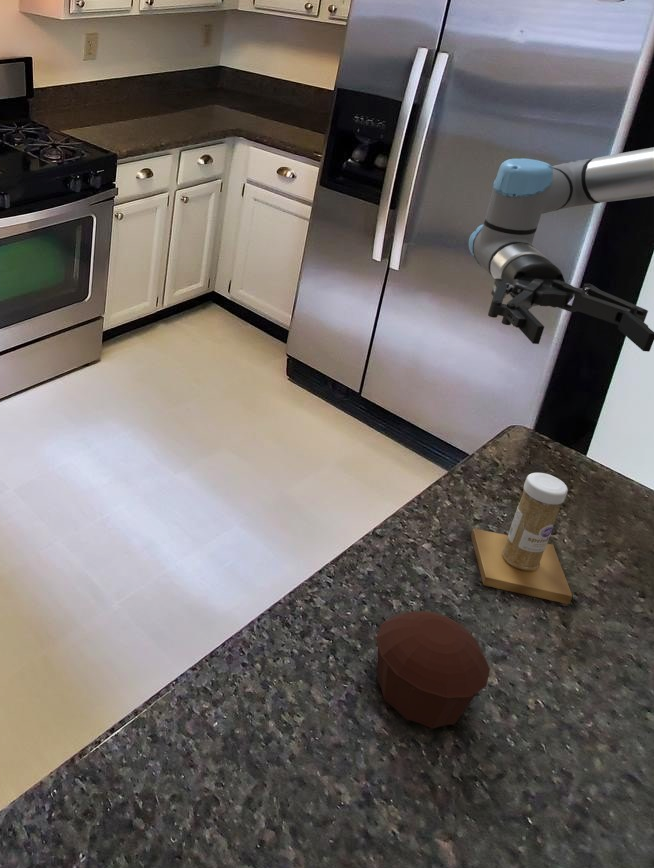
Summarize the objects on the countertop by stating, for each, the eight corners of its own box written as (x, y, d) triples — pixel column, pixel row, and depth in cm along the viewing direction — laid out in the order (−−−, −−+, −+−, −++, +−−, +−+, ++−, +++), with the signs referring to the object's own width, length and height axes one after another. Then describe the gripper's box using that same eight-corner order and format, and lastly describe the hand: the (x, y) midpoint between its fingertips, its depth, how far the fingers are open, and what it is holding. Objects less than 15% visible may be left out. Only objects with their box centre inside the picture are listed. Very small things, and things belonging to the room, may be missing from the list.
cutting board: (550, 552, 113) (553, 544, 112) (569, 604, 104) (572, 596, 104) (470, 535, 116) (473, 528, 115) (483, 585, 107) (485, 577, 107)
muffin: (429, 756, 86) (451, 692, 81) (344, 678, 95) (360, 617, 90) (496, 708, 91) (520, 646, 87) (409, 638, 100) (427, 579, 95)
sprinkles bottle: (528, 577, 107) (557, 497, 101) (493, 556, 110) (520, 478, 104) (546, 563, 109) (575, 485, 103) (511, 543, 112) (538, 466, 107)
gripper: (605, 301, 126) (687, 370, 107) (437, 291, 130) (486, 355, 111) (621, 258, 123) (707, 320, 104) (447, 249, 127) (500, 307, 108)
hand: (593, 339), depth 107 cm, fingers open, 13 cm apart
